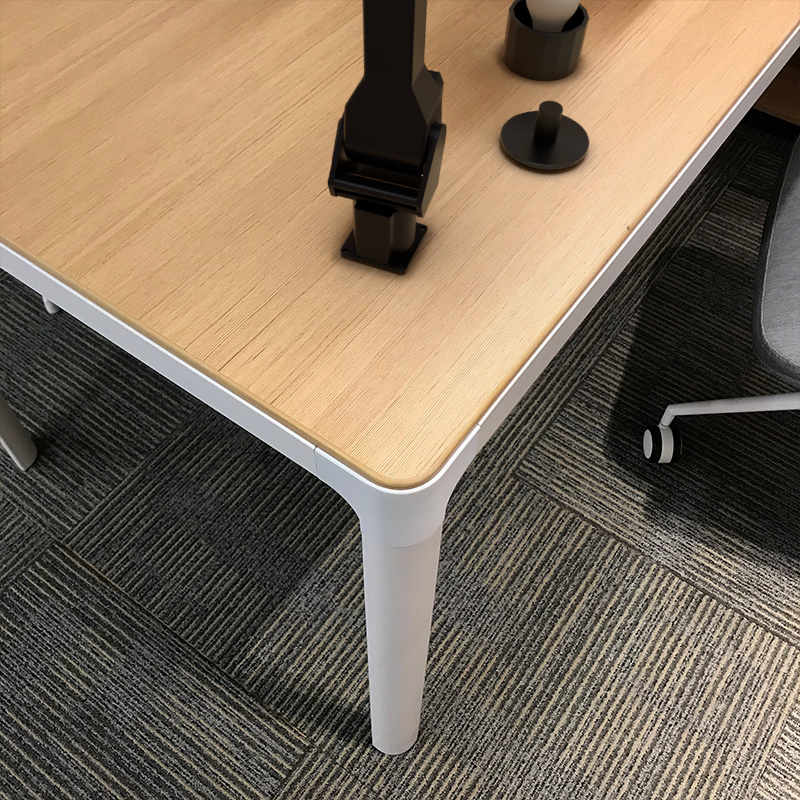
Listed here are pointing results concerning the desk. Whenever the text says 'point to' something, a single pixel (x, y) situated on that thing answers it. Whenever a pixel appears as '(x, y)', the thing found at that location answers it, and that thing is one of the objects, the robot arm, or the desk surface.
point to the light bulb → (551, 13)
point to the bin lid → (545, 138)
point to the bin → (543, 44)
